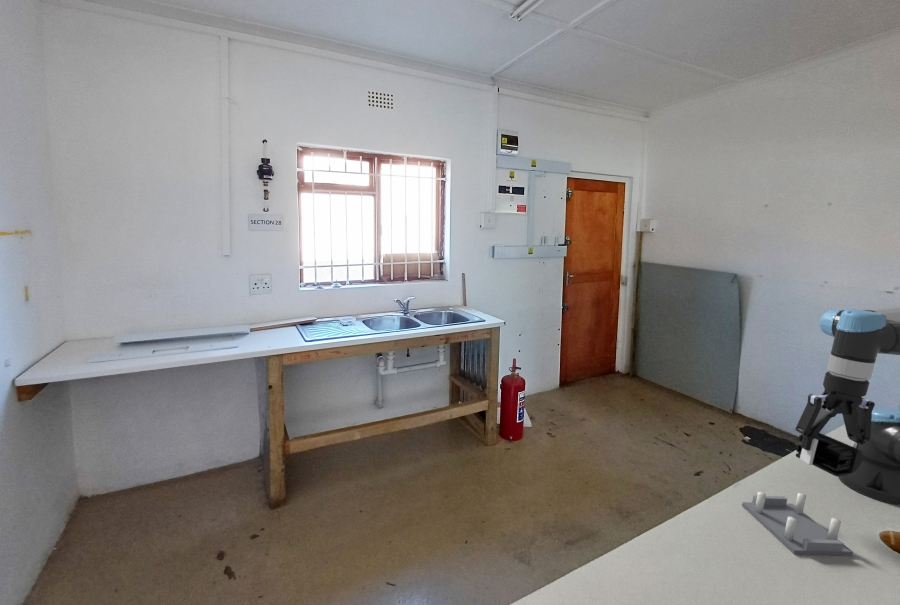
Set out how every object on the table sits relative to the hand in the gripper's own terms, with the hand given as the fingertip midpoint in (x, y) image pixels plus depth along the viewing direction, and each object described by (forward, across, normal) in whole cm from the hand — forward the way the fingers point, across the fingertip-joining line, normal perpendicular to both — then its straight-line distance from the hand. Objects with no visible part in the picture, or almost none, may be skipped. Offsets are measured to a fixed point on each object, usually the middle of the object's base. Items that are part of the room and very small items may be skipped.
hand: (824, 463), depth 100 cm
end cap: (+1, 0, 0) cm, 1 cm away
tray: (+15, +9, +5) cm, 18 cm away
